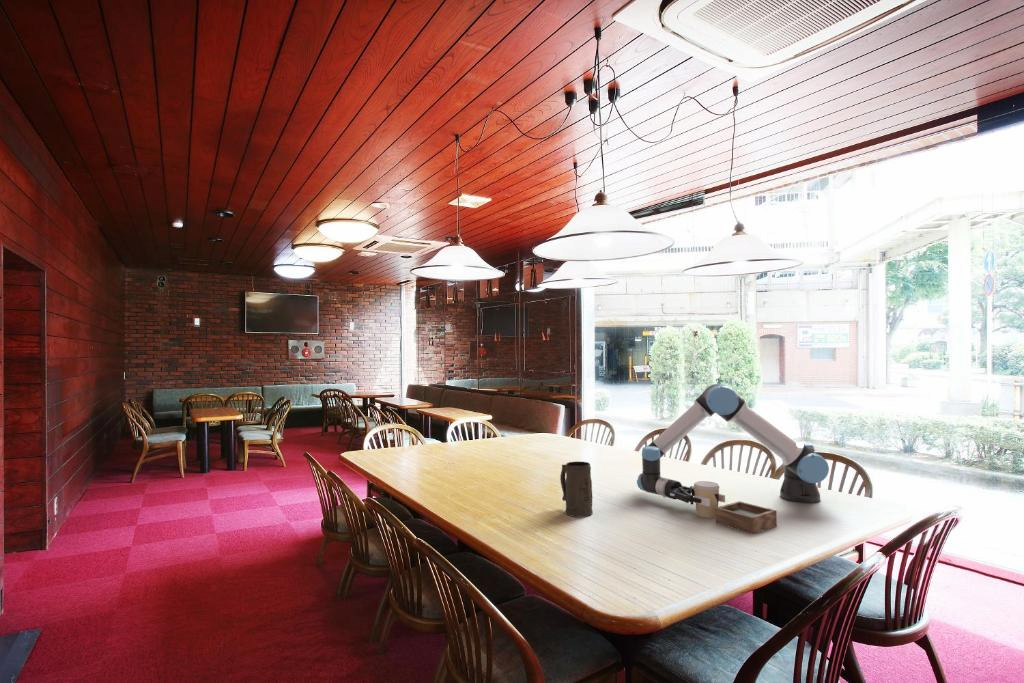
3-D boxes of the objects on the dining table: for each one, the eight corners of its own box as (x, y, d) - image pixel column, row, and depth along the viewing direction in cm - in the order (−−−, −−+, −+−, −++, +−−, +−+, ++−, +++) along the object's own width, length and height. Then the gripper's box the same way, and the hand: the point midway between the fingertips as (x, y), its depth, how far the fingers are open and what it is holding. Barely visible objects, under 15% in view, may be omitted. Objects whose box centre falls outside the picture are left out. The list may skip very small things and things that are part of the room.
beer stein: (599, 512, 208) (596, 461, 209) (583, 519, 200) (580, 466, 201) (568, 508, 218) (565, 459, 220) (552, 514, 210) (549, 463, 212)
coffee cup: (722, 519, 198) (721, 487, 198) (696, 518, 200) (695, 486, 200) (717, 512, 207) (717, 481, 207) (692, 510, 209) (692, 480, 209)
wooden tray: (739, 515, 202) (739, 501, 202) (776, 525, 190) (776, 510, 190) (715, 522, 194) (715, 507, 194) (752, 534, 182) (752, 517, 182)
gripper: (686, 493, 224) (734, 506, 205) (652, 501, 213) (699, 515, 194) (686, 475, 224) (733, 486, 205) (651, 483, 213) (698, 495, 194)
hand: (717, 500), depth 200 cm, fingers closed on coffee cup, 9 cm apart
